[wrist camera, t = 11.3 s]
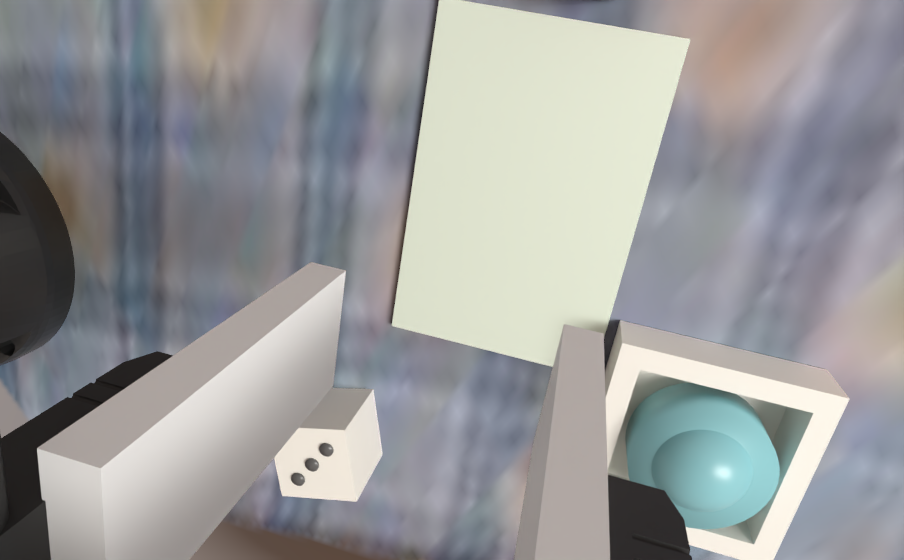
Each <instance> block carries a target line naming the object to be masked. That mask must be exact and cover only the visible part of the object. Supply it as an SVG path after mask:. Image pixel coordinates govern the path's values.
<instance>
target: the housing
mask: <svg viewBox="0 0 904 560" xmlns="http://www.w3.org/2000/svg"><path fill="white" fill-rule="evenodd" d="M682 383H695V384H699V385H703V386H707V387H711V388H715V389H719V390H723V391H727V392H731V393H735V394H737V395H739V396H740V397H742V398H743V399H744V400H746V401H747V402H748V403H749V404H750V405H751V406H752V407H753V408H754V410H755V411H756V413H757V414H758V416H759V417H760V419H761V421H762V423H763V425H764V428H765V430H766V432H767V434H768V436H769V438H770V440H771V442H772V444H773V447H774V449H775V451H776V454H777V457H778V461H779V467H780V474H779V481H778V485H777V488H776V490H775V492H774V494H773V496H772V498H771V499H770V500H769V502H768V503H767V504H766V505H765V506H764V507H763V508H762V509H761V510H760V511H759V512H758V513H756V514H755V515H754V516H752V517H750V518H749V519H747V520H745V521H743V522H740V523H738V524H735V525H732V526H728V527H724V528H718V529H695V528H688V527H686V532H687V537H688V542H689V545H692V546H695V547H699V548H702V549H705V550H709V551H712V552H716V553H719V554H723V555H726V556H730V557H733V558H737V559H740V560H773V559H774V557H775V555H776V553H777V551H778V549H779V547H780V544H781V542H782V540H783V538H784V536H785V534H786V532H787V530H788V528H789V525H790V523H791V521H792V519H793V517H794V515H795V513H796V511H797V509H798V506H799V504H800V502H801V500H802V498H803V496H804V494H805V492H806V490H807V487H808V485H809V483H810V481H811V479H812V477H813V475H814V473H815V471H816V468H817V466H818V464H819V462H820V460H821V458H822V456H823V454H824V452H825V449H826V447H827V445H828V443H829V441H830V439H831V437H832V435H833V433H834V430H835V428H836V426H837V424H838V422H839V420H840V418H841V416H842V414H843V412H844V409H845V407H846V405H847V403H848V401H849V397H848V396H847V395H846V393H845V392H844V391H843V390H842V388H841V387H840V386H839V384H838V383H837V382H836V380H835V379H834V378H833V377H832V375H831V374H830V373H829V371H828V370H826V369H822V368H818V367H813V366H809V365H805V364H801V363H797V362H793V361H788V360H784V359H780V358H776V357H772V356H767V355H763V354H759V353H755V352H751V351H747V350H742V349H738V348H734V347H730V346H726V345H722V344H717V343H713V342H709V341H705V340H701V339H697V338H692V337H688V336H684V335H680V334H676V333H671V332H667V331H663V330H659V329H655V328H651V327H646V326H642V325H638V324H634V323H630V322H626V321H621V320H620V322H619V325H618V329H617V332H616V335H615V339H614V342H613V345H612V349H611V352H610V356H609V359H608V362H607V366H606V369H605V398H606V433H607V467H608V475H611V476H614V477H618V478H622V479H625V480H629V481H630V479H629V475H628V465H627V453H626V441H625V436H626V428H627V424H628V422H629V419H630V417H631V415H632V414H633V412H634V410H635V409H636V408H637V407H638V405H639V404H640V403H641V402H642V401H643V400H645V399H646V398H647V397H649V396H650V395H651V394H653V393H655V392H657V391H659V390H661V389H663V388H666V387H668V386H672V385H676V384H682Z"/></svg>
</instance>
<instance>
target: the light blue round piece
mask: <svg viewBox="0 0 904 560" xmlns="http://www.w3.org/2000/svg"><path fill="white" fill-rule="evenodd" d="M625 441H626V453H627V465H628V475H629V479H630V481H632V482H636V483H640V484H643V485H647V486H650V487H654V488H657V489H661V490H664V491H665V492H666V494H667V495H668V496H669V498H670V499H671V501H672V502H673V504H674V505H675V507H676V508H677V510H678V511H679V513H680V514H681V516H682V517H683V519H684V521H685V527H688V528H695V529H718V528H724V527H728V526H732V525H735V524H738V523H740V522H743V521H745V520H747V519H749V518H750V517H752V516H754V515H755V514H756V513H758V512H759V511H760V510H761V509H762V508H763V507H764V506H765V505H766V504H767V503H768V502H769V500H770V499H771V498H772V496H773V494H774V492H775V490H776V488H777V485H778V481H779V474H780V467H779V461H778V457H777V454H776V451H775V449H774V447H773V444H772V442H771V440H770V438H769V436H768V434H767V432H766V430H765V428H764V425H763V423H762V421H761V419H760V417H759V416H758V414H757V413H756V411H755V410H754V408H753V407H752V406H751V405H750V404H749V403H748V402H747V401H746V400H744V399H743V398H742V397H740V396H739V395H737V394H735V393H731V392H727V391H723V390H719V389H715V388H711V387H707V386H703V385H699V384H695V383H682V384H676V385H672V386H668V387H666V388H663V389H661V390H659V391H657V392H655V393H653V394H651V395H650V396H649V397H647V398H646V399H645V400H643V401H642V402H641V403H640V404H639V405H638V407H637V408H636V409H635V410H634V412H633V414H632V415H631V417H630V419H629V422H628V424H627V428H626V436H625Z"/></svg>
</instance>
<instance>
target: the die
mask: <svg viewBox="0 0 904 560" xmlns="http://www.w3.org/2000/svg"><path fill="white" fill-rule="evenodd" d="M382 455H383V453H382V446H381V440H380V433H379V426H378V419H377V412H376V405H375V398H374V391H373V389H353V388H331V389H330V391H329V392H328V393H327V394H326V395H325V397H324V398H323V399H322V400H321V401H320V403H319V404H318V405H317V406H316V407H315V409H314V410H313V411H312V412H311V414H310V415H309V416H308V417H307V418H306V420H305V421H304V422H303V423H302V424H301V426H300V427H299V428H298V429H297V430H296V432H295V433H294V434H293V435H292V436H291V438H290V439H289V440H288V441H287V442H286V444H285V445H284V446H283V447H282V449H281V450H280V451H279V452H278V453H277V455H276V456H275V457H274V459H275V464H276V469H277V473H278V478H279V483H280V488H281V493H282V496H291V497H304V498H317V499H330V500H343V501H356V502H357V500H358V498H359V496H360V495H361V493H362V491H363V489H364V487H365V485H366V484H367V482H368V480H369V478H370V476H371V475H372V473H373V471H374V469H375V467H376V465H377V464H378V462H379V460H380V458H381V456H382Z"/></svg>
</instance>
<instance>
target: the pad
mask: <svg viewBox="0 0 904 560" xmlns="http://www.w3.org/2000/svg"><path fill="white" fill-rule="evenodd" d="M689 43H690V39H686V38H680V37H674V36H668V35H662V34H656V33H650V32H645V31H639V30H633V29H627V28H621V27H615V26H609V25H603V24H597V23H591V22H585V21H580V20H574V19H568V18H562V17H556V16H550V15H544V14H538V13H532V12H526V11H520V10H515V9H509V8H503V7H497V6H491V5H485V4H479V3H473V2H467V1H461V0H439V4H438V11H437V18H436V24H435V31H434V38H433V45H432V52H431V59H430V66H429V73H428V79H427V86H426V93H425V100H424V107H423V114H422V121H421V128H420V134H419V141H418V148H417V155H416V162H415V169H414V176H413V183H412V189H411V196H410V203H409V210H408V217H407V224H406V231H405V238H404V244H403V251H402V258H401V265H400V272H399V279H398V286H397V293H396V299H395V306H394V313H393V320H392V326H395V327H398V328H402V329H406V330H410V331H414V332H418V333H422V334H426V335H430V336H434V337H438V338H442V339H446V340H449V341H453V342H457V343H461V344H465V345H469V346H473V347H477V348H481V349H485V350H489V351H493V352H497V353H501V354H504V355H508V356H512V357H516V358H520V359H524V360H528V361H532V362H536V363H540V364H544V365H548V366H552V367H553V364H554V361H555V357H556V353H557V349H558V345H559V341H560V337H561V334H562V330H563V326H564V324H566V325H570V326H574V327H579V328H583V329H587V330H591V331H595V332H599V333H603V334H604V336H605V333H606V329H607V326H608V322H609V319H610V316H611V312H612V309H613V305H614V302H615V298H616V295H617V291H618V288H619V284H620V281H621V278H622V274H623V271H624V267H625V264H626V260H627V257H628V253H629V250H630V246H631V243H632V240H633V236H634V233H635V229H636V226H637V222H638V219H639V215H640V212H641V208H642V205H643V202H644V198H645V195H646V191H647V188H648V184H649V181H650V177H651V174H652V170H653V167H654V164H655V160H656V157H657V153H658V150H659V146H660V143H661V139H662V136H663V132H664V129H665V126H666V122H667V119H668V115H669V112H670V108H671V105H672V101H673V98H674V94H675V91H676V88H677V84H678V81H679V77H680V74H681V70H682V67H683V63H684V60H685V56H686V53H687V50H688V46H689Z"/></svg>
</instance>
